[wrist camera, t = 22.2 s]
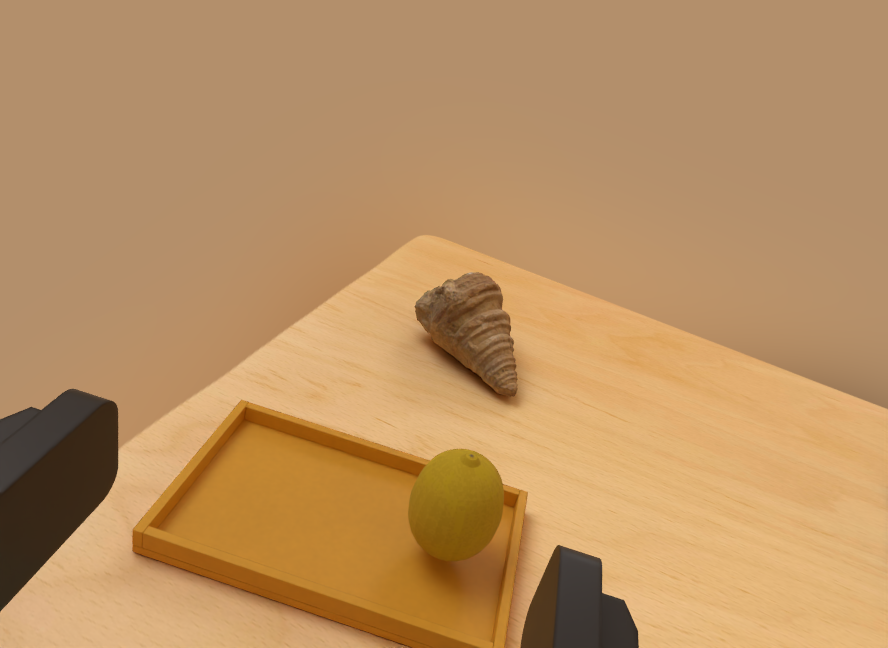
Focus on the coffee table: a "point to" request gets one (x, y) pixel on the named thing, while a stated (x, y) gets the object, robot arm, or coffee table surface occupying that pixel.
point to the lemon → (456, 505)
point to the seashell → (472, 328)
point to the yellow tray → (329, 533)
